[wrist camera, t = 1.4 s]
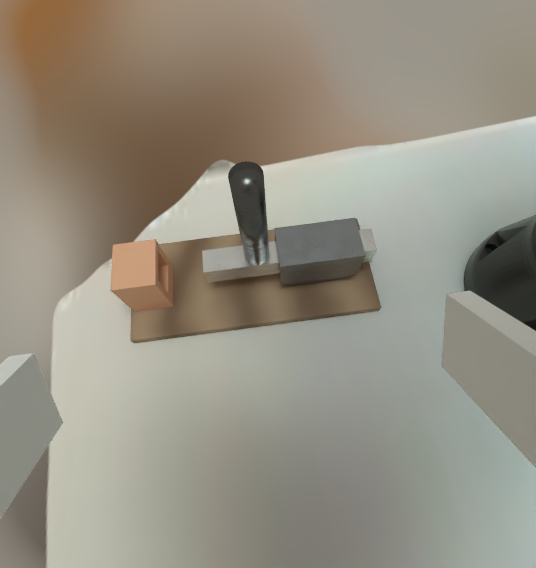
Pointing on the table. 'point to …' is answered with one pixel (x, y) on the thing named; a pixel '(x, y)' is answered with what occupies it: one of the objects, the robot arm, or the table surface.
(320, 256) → the outer sleeve
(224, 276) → the sliding bolt
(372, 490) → the table surface
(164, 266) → the socket block
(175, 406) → the table surface
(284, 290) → the base board
